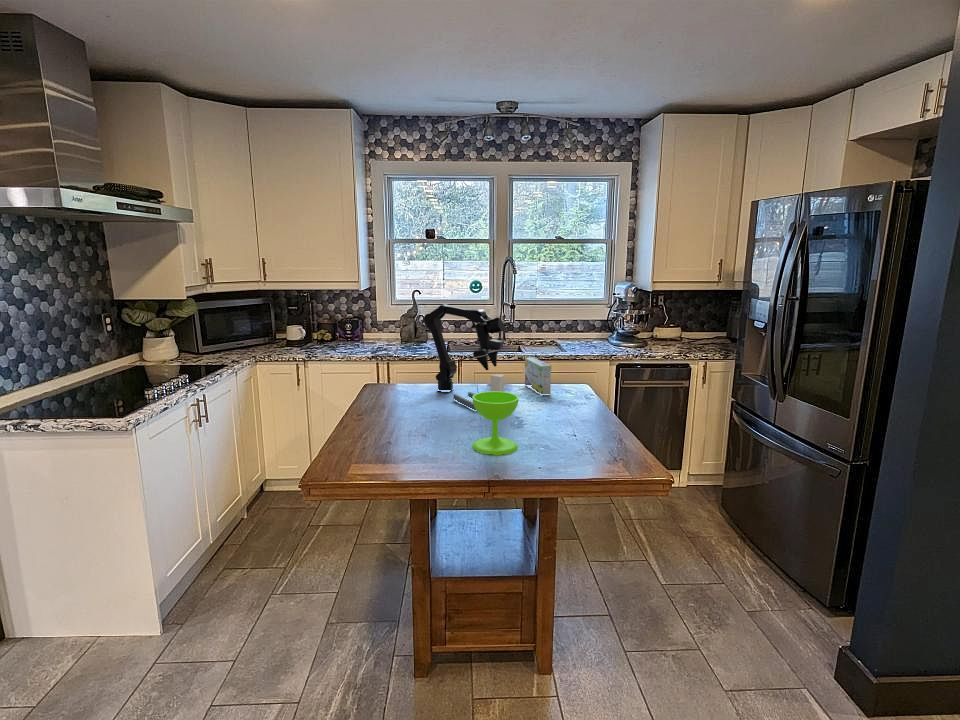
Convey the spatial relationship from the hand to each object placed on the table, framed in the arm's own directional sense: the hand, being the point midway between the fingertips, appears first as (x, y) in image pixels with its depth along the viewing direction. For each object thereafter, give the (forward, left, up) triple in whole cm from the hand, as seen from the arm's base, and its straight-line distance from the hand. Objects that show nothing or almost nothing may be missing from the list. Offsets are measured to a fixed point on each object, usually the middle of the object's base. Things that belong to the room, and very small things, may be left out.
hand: (491, 368), depth 245 cm
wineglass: (+23, -62, -14) cm, 67 cm away
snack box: (+17, +20, -14) cm, 30 cm away
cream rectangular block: (+5, -5, -14) cm, 16 cm away
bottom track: (-3, -15, -14) cm, 21 cm away
